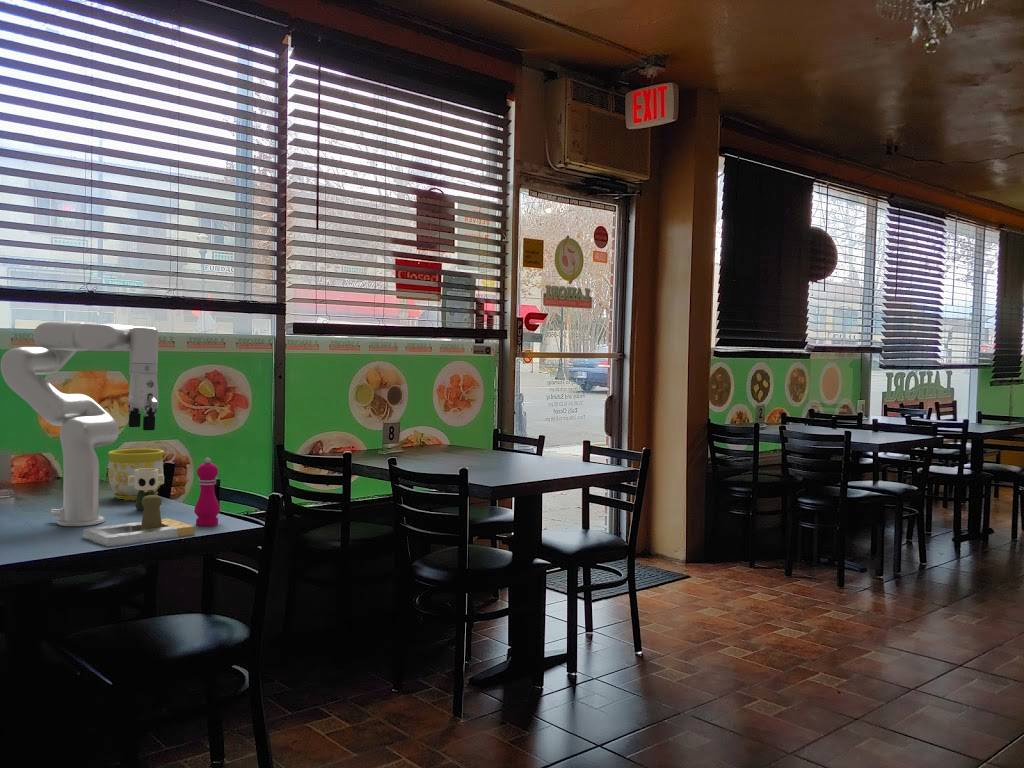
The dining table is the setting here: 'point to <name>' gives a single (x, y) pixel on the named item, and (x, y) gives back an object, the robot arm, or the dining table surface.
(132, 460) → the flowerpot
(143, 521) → the brown shaker
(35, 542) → the dining table surface
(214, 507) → the pepper mill
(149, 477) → the character mug
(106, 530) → the white and tan tray
